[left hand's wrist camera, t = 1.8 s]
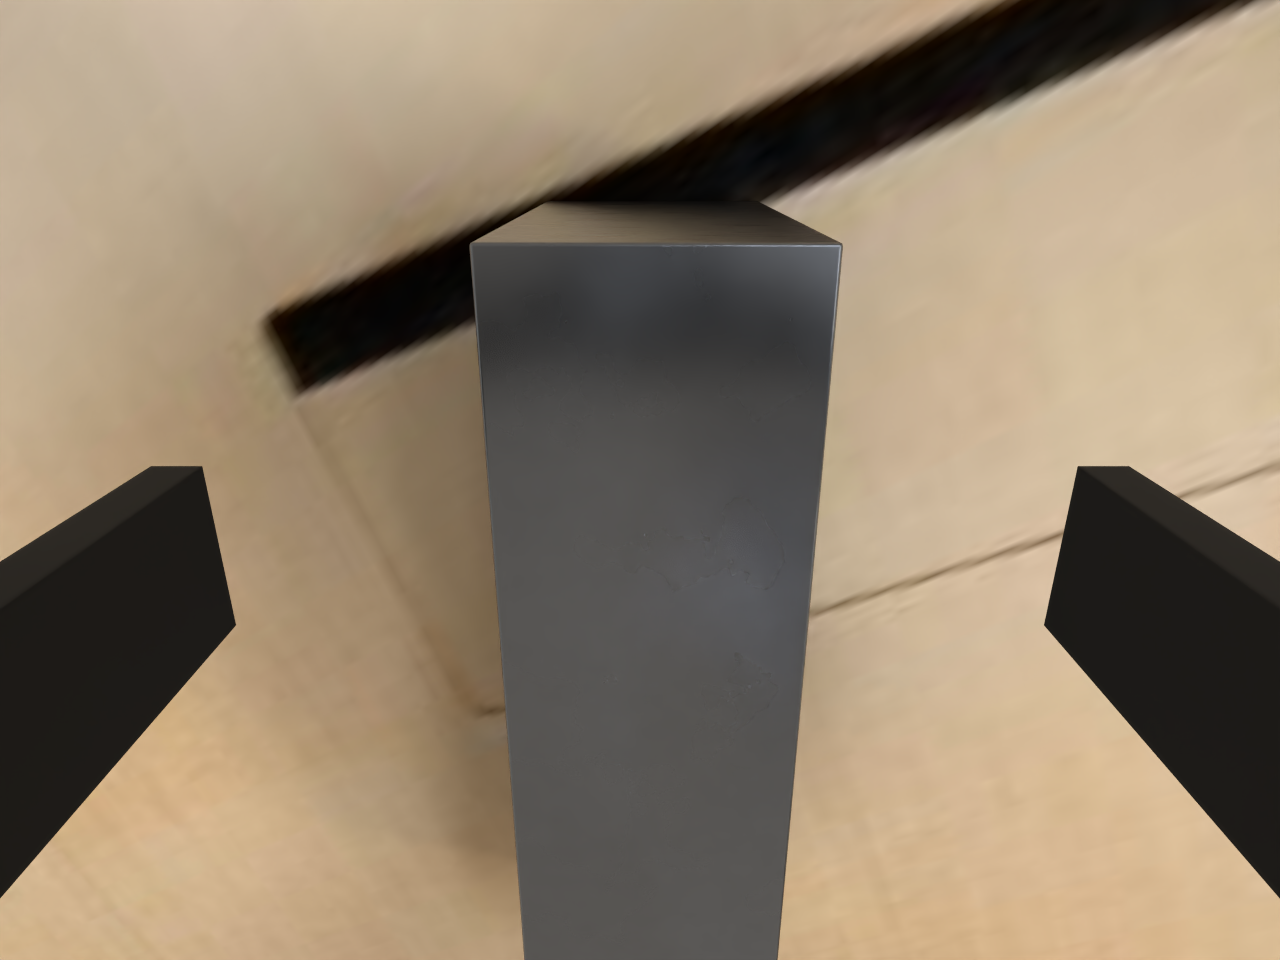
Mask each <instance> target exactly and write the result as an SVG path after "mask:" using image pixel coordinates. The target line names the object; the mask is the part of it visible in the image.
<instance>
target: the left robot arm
mask: <svg viewBox="0 0 1280 960" xmlns="http://www.w3.org/2000/svg"><path fill="white" fill-rule="evenodd" d="M235 626H236V623H235V619H234V614H233V609H232V604H231V600H230V595H229V590H228V586H227V581H226V576H225V572H224V567H223V562H222V557H221V553H220V548H219V543H218V539H217V534H216V529H215V525H214V520H213V515H212V510H211V506H210V501H209V496H208V492H207V487H206V482H205V478H204V473H203V468H202V466H151V467H149V468H148V469H146V470H144V471H143V472H141V473H140V474H138V475H137V476H135V477H133V478H132V479H130V480H129V481H127V482H126V483H124V484H122V485H121V486H119V487H118V488H116V489H114V490H113V491H111V492H110V493H108V494H107V495H105V496H103V497H102V498H100V499H99V500H97V501H95V502H94V503H92V504H91V505H89V506H88V507H86V508H84V509H83V510H81V511H80V512H78V513H77V514H75V515H73V516H72V517H70V518H69V519H67V520H65V521H64V522H62V523H61V524H59V525H58V526H56V527H54V528H53V529H51V530H50V531H48V532H46V533H45V534H43V535H42V536H40V537H39V538H37V539H35V540H34V541H32V542H31V543H29V544H28V545H26V546H24V547H23V548H21V549H20V550H18V551H16V552H15V553H13V554H12V555H10V556H9V557H7V558H5V559H4V560H2V561H1V562H0V898H1V897H2V896H3V894H4V893H5V892H6V891H7V890H8V889H9V888H10V886H11V885H12V884H13V883H14V882H15V881H16V879H17V878H18V877H19V876H20V875H21V874H22V872H23V871H24V870H25V869H26V868H27V867H28V866H29V864H30V863H31V862H32V861H33V860H34V859H35V857H36V856H37V855H38V854H39V853H40V852H41V850H42V849H43V848H44V847H45V846H46V845H47V843H48V842H49V841H50V840H51V839H52V838H53V837H54V835H55V834H56V833H57V832H58V831H59V830H60V828H61V827H62V826H63V825H64V824H65V823H66V821H67V820H68V819H69V818H70V817H71V816H72V815H73V813H74V812H75V811H76V810H77V809H78V808H79V806H80V805H81V804H82V803H83V802H84V801H85V799H86V798H87V797H88V796H89V795H90V794H91V793H92V791H93V790H94V789H95V788H96V787H97V786H98V784H99V783H100V782H101V781H102V780H103V779H104V777H105V776H106V775H107V774H108V773H109V772H110V770H111V769H112V768H113V767H114V766H115V765H116V764H117V762H118V761H119V760H120V759H121V758H122V757H123V755H124V754H125V753H126V752H127V751H128V750H129V748H130V747H131V746H132V745H133V744H134V743H135V742H136V740H137V739H138V738H139V737H140V736H141V735H142V733H143V732H144V731H145V730H146V729H147V728H148V726H149V725H150V724H151V723H152V722H153V721H154V720H155V718H156V717H157V716H158V715H159V714H160V713H161V711H162V710H163V709H164V708H165V707H166V706H167V704H168V703H169V702H170V701H171V700H172V699H173V697H174V696H175V695H176V694H177V693H178V692H179V691H180V689H181V688H182V687H183V686H184V685H185V684H186V682H187V681H188V680H189V679H190V678H191V677H192V675H193V674H194V673H195V672H196V671H197V670H198V669H199V667H200V666H201V665H202V664H203V663H204V662H205V660H206V659H207V658H208V657H209V656H210V655H211V653H212V652H213V651H214V650H215V649H216V648H217V647H218V645H219V644H220V643H221V642H222V641H223V640H224V638H225V637H226V636H227V635H228V634H229V633H230V631H231V630H232V629H233V628H234V627H235ZM1044 626H1045V627H1046V628H1047V629H1048V630H1049V631H1050V633H1051V634H1052V635H1053V636H1054V637H1055V638H1056V640H1057V641H1058V642H1059V643H1060V644H1061V645H1062V647H1063V648H1064V649H1065V650H1066V651H1067V652H1068V653H1069V655H1070V656H1071V657H1072V658H1073V659H1074V660H1075V662H1076V663H1077V664H1078V665H1079V666H1080V667H1081V669H1082V670H1083V671H1084V672H1085V673H1086V674H1087V675H1088V677H1089V678H1090V679H1091V680H1092V681H1093V682H1094V684H1095V685H1096V686H1097V687H1098V688H1099V689H1100V691H1101V692H1102V693H1103V694H1104V695H1105V696H1106V697H1107V699H1108V700H1109V701H1110V702H1111V703H1112V704H1113V706H1114V707H1115V708H1116V709H1117V710H1118V711H1119V713H1120V714H1121V715H1122V716H1123V717H1124V718H1125V720H1126V721H1127V722H1128V723H1129V724H1130V725H1131V726H1132V728H1133V729H1134V730H1135V731H1136V732H1137V733H1138V735H1139V736H1140V737H1141V738H1142V739H1143V740H1144V742H1145V743H1146V744H1147V745H1148V746H1149V747H1150V748H1151V750H1152V751H1153V752H1154V753H1155V754H1156V755H1157V757H1158V758H1159V759H1160V760H1161V761H1162V762H1163V764H1164V765H1165V766H1166V767H1167V768H1168V769H1169V770H1170V772H1171V773H1172V774H1173V775H1174V776H1175V777H1176V779H1177V780H1178V781H1179V782H1180V783H1181V784H1182V786H1183V787H1184V788H1185V789H1186V790H1187V791H1188V793H1189V794H1190V795H1191V796H1192V797H1193V798H1194V799H1195V801H1196V802H1197V803H1198V804H1199V805H1200V806H1201V808H1202V809H1203V810H1204V811H1205V812H1206V813H1207V815H1208V816H1209V817H1210V818H1211V819H1212V820H1213V821H1214V823H1215V824H1216V825H1217V826H1218V827H1219V828H1220V830H1221V831H1222V832H1223V833H1224V834H1225V835H1226V837H1227V838H1228V839H1229V840H1230V841H1231V842H1232V843H1233V845H1234V846H1235V847H1236V848H1237V849H1238V850H1239V852H1240V853H1241V854H1242V855H1243V856H1244V857H1245V859H1246V860H1247V861H1248V862H1249V863H1250V864H1251V866H1252V867H1253V868H1254V869H1255V870H1256V871H1257V872H1258V874H1259V875H1260V876H1261V877H1262V878H1263V879H1264V881H1265V882H1266V883H1267V884H1268V885H1269V886H1270V888H1271V889H1272V890H1273V891H1274V892H1275V893H1276V894H1277V896H1278V897H1279V898H1280V562H1279V561H1278V560H1276V559H1275V558H1273V557H1271V556H1270V555H1268V554H1267V553H1265V552H1264V551H1262V550H1260V549H1259V548H1257V547H1256V546H1254V545H1252V544H1251V543H1249V542H1248V541H1246V540H1245V539H1243V538H1241V537H1240V536H1238V535H1237V534H1235V533H1234V532H1232V531H1230V530H1229V529H1227V528H1226V527H1224V526H1222V525H1221V524H1219V523H1218V522H1216V521H1215V520H1213V519H1211V518H1210V517H1208V516H1207V515H1205V514H1203V513H1202V512H1200V511H1199V510H1197V509H1196V508H1194V507H1192V506H1191V505H1189V504H1188V503H1186V502H1185V501H1183V500H1181V499H1180V498H1178V497H1177V496H1175V495H1173V494H1172V493H1170V492H1169V491H1167V490H1166V489H1164V488H1162V487H1161V486H1159V485H1158V484H1156V483H1154V482H1153V481H1151V480H1150V479H1148V478H1147V477H1145V476H1143V475H1142V474H1140V473H1139V472H1137V471H1136V470H1134V469H1132V468H1131V467H1129V466H1078V468H1077V473H1076V478H1075V482H1074V487H1073V492H1072V496H1071V501H1070V506H1069V510H1068V515H1067V520H1066V525H1065V529H1064V534H1063V539H1062V543H1061V548H1060V553H1059V557H1058V562H1057V567H1056V572H1055V576H1054V581H1053V586H1052V590H1051V595H1050V600H1049V604H1048V609H1047V614H1046V618H1045V623H1044Z"/></svg>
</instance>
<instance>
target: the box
mask: <svg viewBox="0 0 1280 960" xmlns="http://www.w3.org/2000/svg"><path fill="white" fill-rule="evenodd" d="M842 250H843V245H842V243H840V242H838V241H836V240H834V239H832V238H830V237H828V236H826V235H824V234H822V233H820V232H818V231H816V230H814V229H812V228H810V227H808V226H806V225H804V224H802V223H800V222H798V221H796V220H794V219H792V218H790V217H788V216H786V215H784V214H782V213H780V212H778V211H776V210H774V209H772V208H770V207H768V206H766V205H764V204H762V203H760V202H758V201H548V202H546V203H544V204H542V205H540V206H539V207H537V208H535V209H533V210H531V211H529V212H527V213H526V214H524V215H522V216H520V217H518V218H516V219H514V220H513V221H511V222H509V223H507V224H505V225H503V226H501V227H500V228H498V229H496V230H494V231H492V232H490V233H489V234H487V235H485V236H483V237H481V238H479V239H477V240H476V241H474V242H472V243H470V257H471V270H472V283H473V296H474V309H475V322H476V335H477V348H478V361H479V374H480V387H481V400H482V413H483V426H484V439H485V452H486V465H487V478H488V492H489V505H490V518H491V531H492V544H493V557H494V570H495V583H496V596H497V609H498V622H499V635H500V648H501V661H502V674H503V687H504V700H505V713H506V726H507V739H508V752H509V765H510V778H511V791H512V804H513V817H514V830H515V843H516V856H517V869H518V882H519V895H520V908H521V921H522V935H523V948H524V960H778V949H779V938H780V927H781V916H782V905H783V894H784V883H785V872H786V861H787V851H788V840H789V829H790V818H791V807H792V796H793V785H794V774H795V763H796V752H797V741H798V731H799V720H800V709H801V698H802V687H803V676H804V665H805V654H806V643H807V632H808V621H809V610H810V600H811V589H812V578H813V567H814V556H815V545H816V534H817V523H818V512H819V501H820V490H821V480H822V469H823V458H824V447H825V436H826V425H827V414H828V403H829V392H830V381H831V370H832V359H833V349H834V338H835V327H836V316H837V305H838V294H839V283H840V272H841V261H842Z"/></svg>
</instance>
